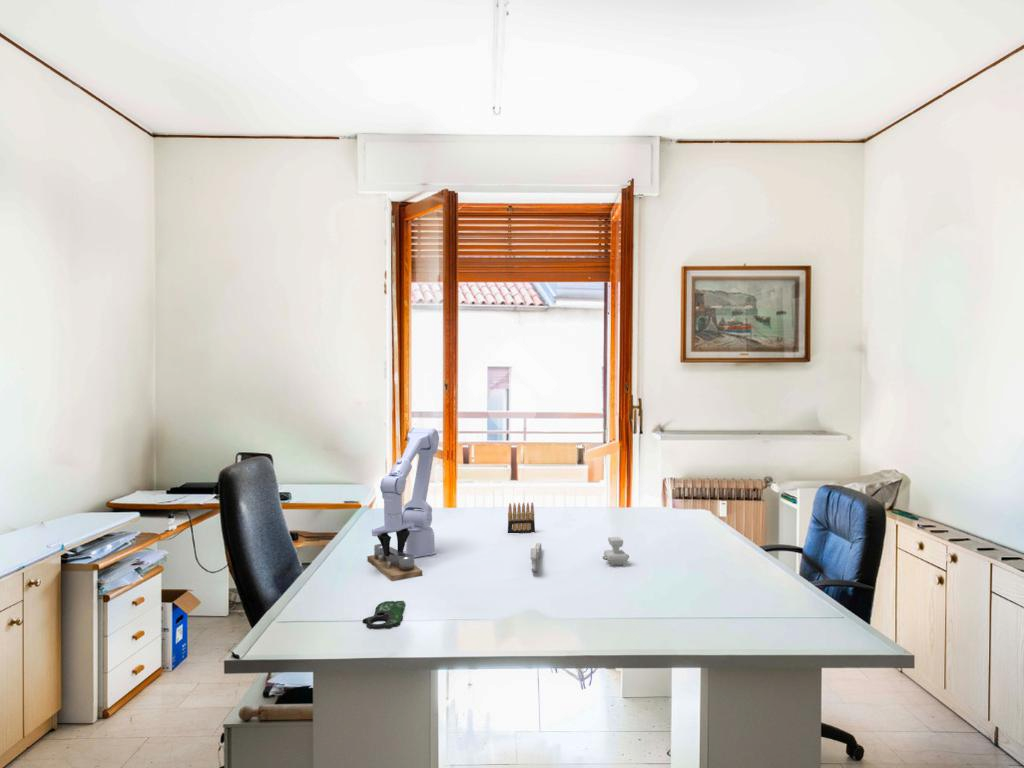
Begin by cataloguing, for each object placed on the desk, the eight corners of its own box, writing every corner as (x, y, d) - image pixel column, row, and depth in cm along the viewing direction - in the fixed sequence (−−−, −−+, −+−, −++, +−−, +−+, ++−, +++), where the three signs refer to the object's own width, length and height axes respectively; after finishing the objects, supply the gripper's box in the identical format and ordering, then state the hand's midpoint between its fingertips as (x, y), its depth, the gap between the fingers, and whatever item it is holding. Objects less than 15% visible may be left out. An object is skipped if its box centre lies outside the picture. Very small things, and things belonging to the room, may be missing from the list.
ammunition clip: (534, 531, 249) (534, 501, 248) (535, 532, 247) (534, 502, 246) (507, 532, 247) (507, 502, 247) (508, 533, 246) (507, 503, 245)
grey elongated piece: (384, 554, 214) (384, 542, 214) (417, 569, 198) (416, 556, 198) (371, 557, 211) (371, 545, 211) (403, 572, 195) (403, 559, 195)
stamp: (604, 567, 203) (604, 541, 203) (600, 561, 210) (600, 536, 210) (632, 566, 204) (632, 540, 204) (626, 560, 211) (626, 535, 211)
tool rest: (395, 555, 217) (395, 545, 217) (422, 575, 197) (422, 564, 197) (367, 560, 212) (367, 550, 212) (391, 581, 192) (391, 569, 192)
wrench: (541, 558, 223) (536, 576, 194) (536, 558, 223) (530, 576, 194) (541, 535, 224) (536, 549, 194) (536, 535, 224) (530, 549, 194)
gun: (370, 601, 172) (406, 600, 173) (370, 606, 172) (406, 605, 173) (359, 625, 156) (400, 624, 157) (359, 631, 156) (400, 630, 157)
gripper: (406, 507, 212) (406, 547, 212) (367, 514, 203) (367, 555, 203) (417, 510, 207) (417, 551, 207) (377, 518, 197) (378, 560, 197)
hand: (393, 554), depth 205 cm, fingers open, 4 cm apart
